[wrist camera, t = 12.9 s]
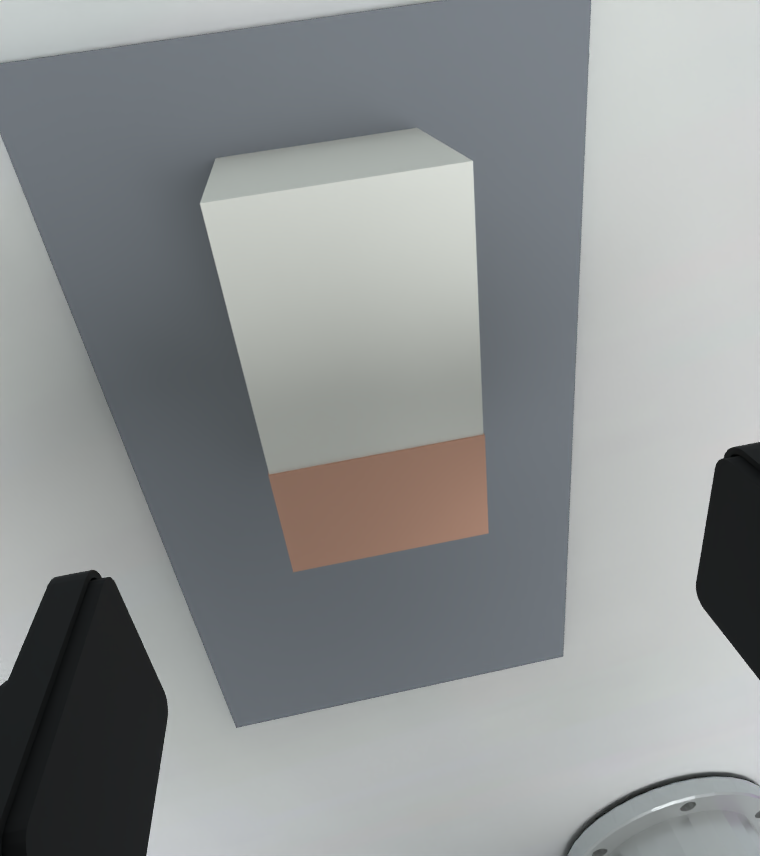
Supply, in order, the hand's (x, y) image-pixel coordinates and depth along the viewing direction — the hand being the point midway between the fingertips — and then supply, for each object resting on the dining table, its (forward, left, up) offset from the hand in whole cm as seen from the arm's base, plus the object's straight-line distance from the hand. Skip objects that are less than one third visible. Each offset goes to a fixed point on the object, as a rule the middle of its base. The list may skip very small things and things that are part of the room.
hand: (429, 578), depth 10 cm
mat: (-4, 0, -11) cm, 11 cm away
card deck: (+1, 0, -10) cm, 10 cm away
